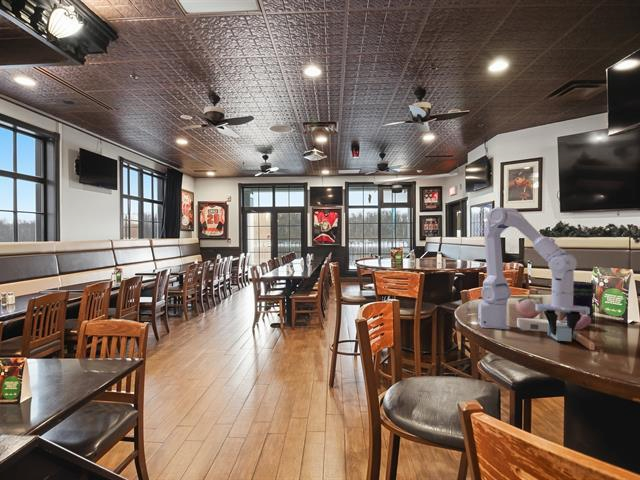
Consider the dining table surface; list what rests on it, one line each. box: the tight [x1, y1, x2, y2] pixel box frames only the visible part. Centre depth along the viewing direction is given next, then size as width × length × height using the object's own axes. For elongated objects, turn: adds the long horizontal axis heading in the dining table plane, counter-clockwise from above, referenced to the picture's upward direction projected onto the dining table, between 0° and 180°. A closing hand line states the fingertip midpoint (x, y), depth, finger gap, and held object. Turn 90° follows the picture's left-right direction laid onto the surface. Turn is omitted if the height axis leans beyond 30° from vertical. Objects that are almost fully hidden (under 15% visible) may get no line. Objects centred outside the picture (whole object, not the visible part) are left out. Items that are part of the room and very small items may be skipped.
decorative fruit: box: [515, 294, 542, 319], centre depth 143 cm, size 9×8×10 cm
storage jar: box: [563, 280, 595, 323], centre depth 144 cm, size 10×10×15 cm
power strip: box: [516, 317, 567, 333], centre depth 128 cm, size 16×6×3 cm, turn 76°
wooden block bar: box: [572, 330, 595, 351], centre depth 111 cm, size 12×2×2 cm, turn 164°
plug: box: [546, 323, 573, 342], centre depth 115 cm, size 5×7×4 cm
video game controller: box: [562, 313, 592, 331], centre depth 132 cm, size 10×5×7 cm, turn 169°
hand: (561, 334), depth 113 cm, fingers closed on plug, 4 cm apart
